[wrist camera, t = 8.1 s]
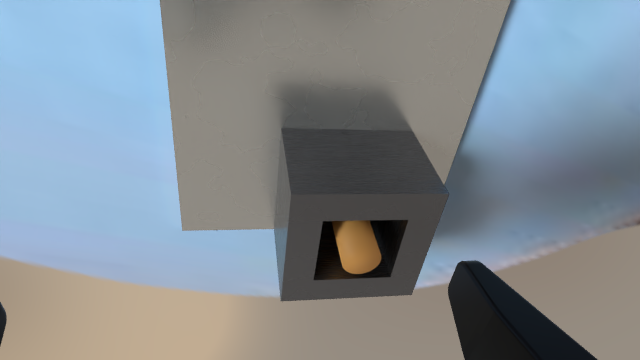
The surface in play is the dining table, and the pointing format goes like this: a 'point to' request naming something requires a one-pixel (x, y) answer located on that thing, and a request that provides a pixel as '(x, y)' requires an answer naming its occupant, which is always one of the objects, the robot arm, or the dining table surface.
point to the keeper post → (356, 246)
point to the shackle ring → (353, 210)
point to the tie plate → (311, 86)
